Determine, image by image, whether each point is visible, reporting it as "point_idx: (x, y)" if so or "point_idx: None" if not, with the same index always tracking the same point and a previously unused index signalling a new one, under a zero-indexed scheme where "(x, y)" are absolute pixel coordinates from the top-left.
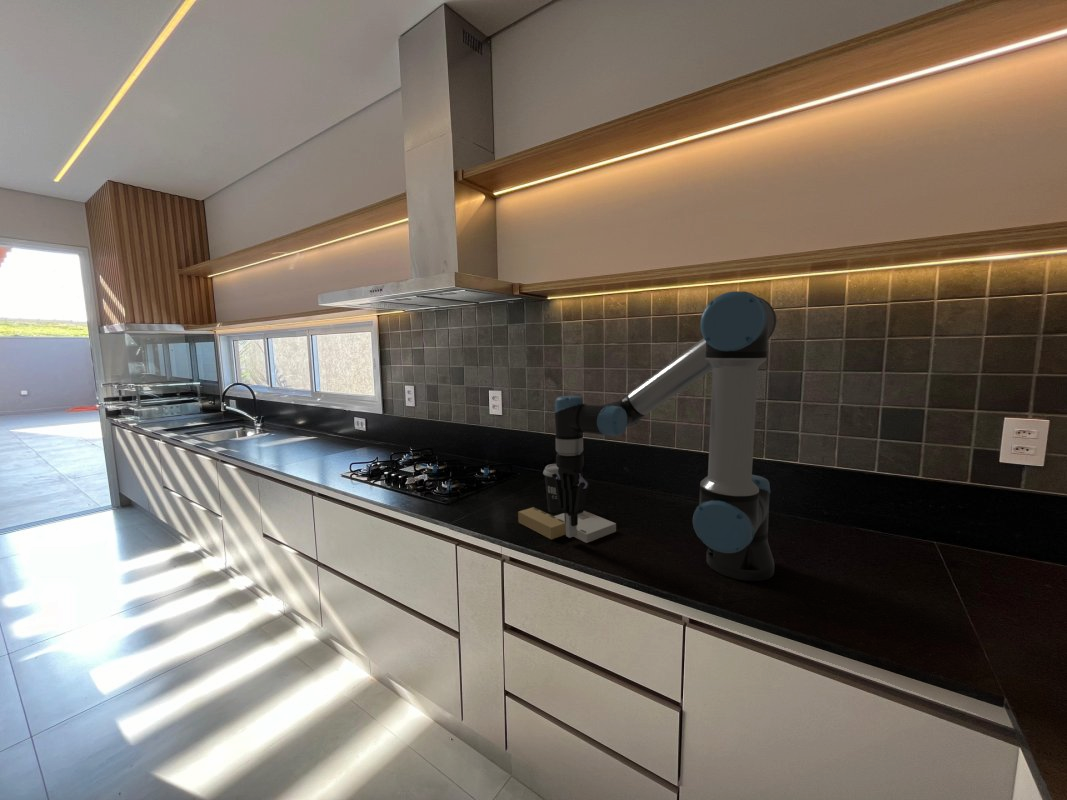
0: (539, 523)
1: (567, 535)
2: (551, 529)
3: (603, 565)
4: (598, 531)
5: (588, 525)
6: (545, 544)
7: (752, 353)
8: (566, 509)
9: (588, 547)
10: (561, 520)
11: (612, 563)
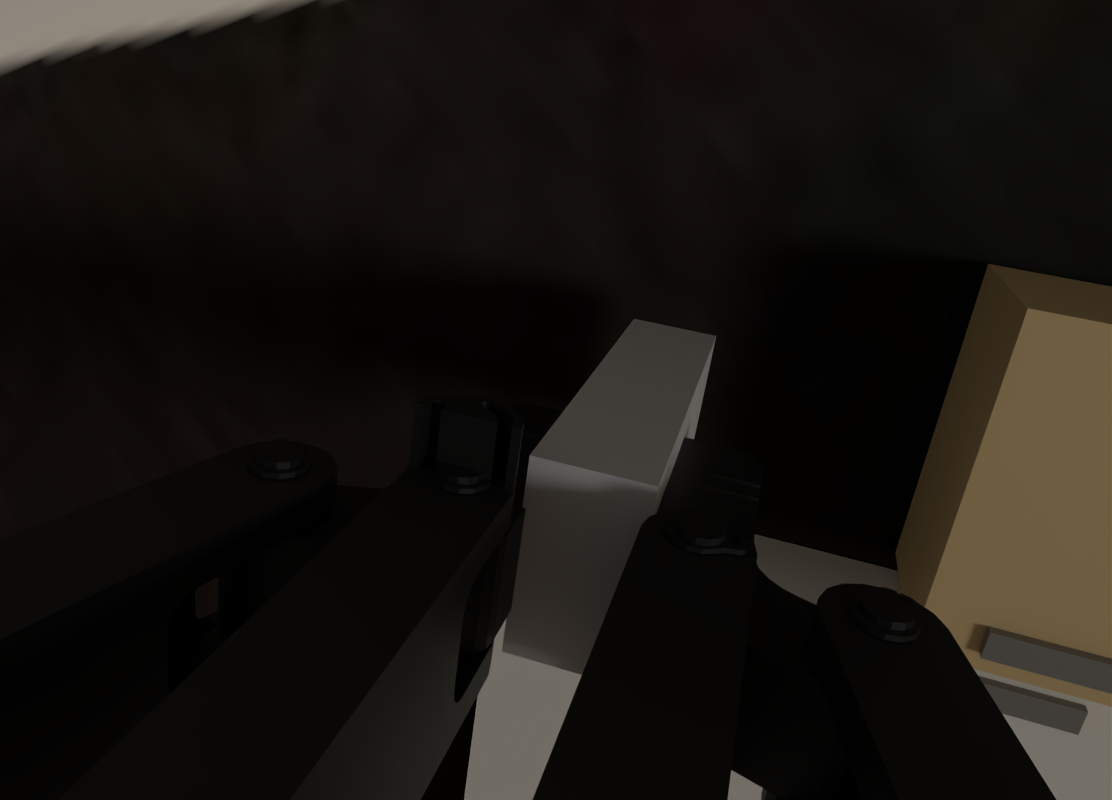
0: None
1: (678, 334)
2: (1016, 307)
3: (89, 134)
4: (481, 698)
5: None
6: (979, 85)
7: None
8: (630, 560)
9: (454, 393)
10: (1033, 659)
11: (70, 236)
